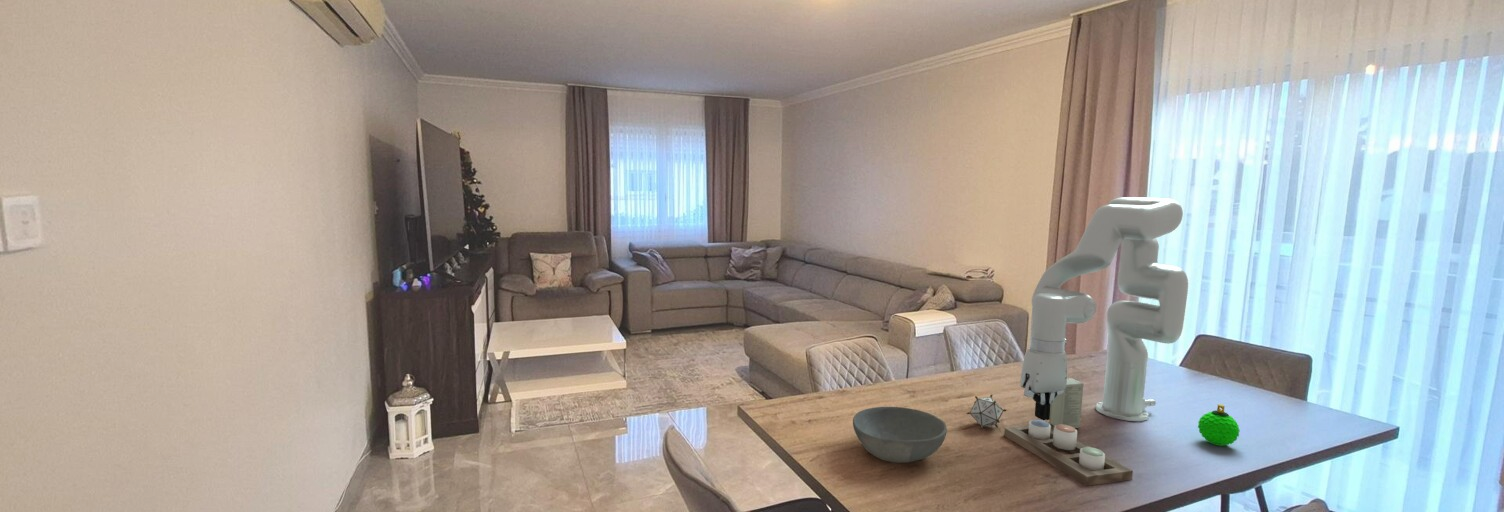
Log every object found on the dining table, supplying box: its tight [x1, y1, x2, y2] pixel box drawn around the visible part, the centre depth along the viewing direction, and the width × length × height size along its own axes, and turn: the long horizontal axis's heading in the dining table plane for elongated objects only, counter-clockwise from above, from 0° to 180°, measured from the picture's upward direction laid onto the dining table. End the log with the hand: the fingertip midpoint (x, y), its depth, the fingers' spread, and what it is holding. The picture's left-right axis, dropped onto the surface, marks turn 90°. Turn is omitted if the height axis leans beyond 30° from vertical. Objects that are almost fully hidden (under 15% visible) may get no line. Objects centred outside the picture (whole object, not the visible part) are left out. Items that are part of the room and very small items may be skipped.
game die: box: [966, 393, 1008, 431], centre depth 157 cm, size 9×8×10 cm
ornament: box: [1197, 404, 1241, 447], centre depth 149 cm, size 8×8×10 cm
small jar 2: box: [1053, 424, 1078, 451], centre depth 141 cm, size 5×5×4 cm
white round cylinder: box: [1079, 446, 1106, 471], centre depth 133 cm, size 5×5×4 cm
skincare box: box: [1048, 377, 1084, 429], centre depth 159 cm, size 6×4×12 cm
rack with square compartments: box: [1003, 424, 1134, 487], centre depth 141 cm, size 12×26×2 cm, turn 15°
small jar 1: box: [1028, 419, 1052, 440], centre depth 149 cm, size 5×5×4 cm
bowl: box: [852, 406, 948, 464], centre depth 139 cm, size 21×21×8 cm
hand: (1042, 417), depth 148 cm, fingers closed
